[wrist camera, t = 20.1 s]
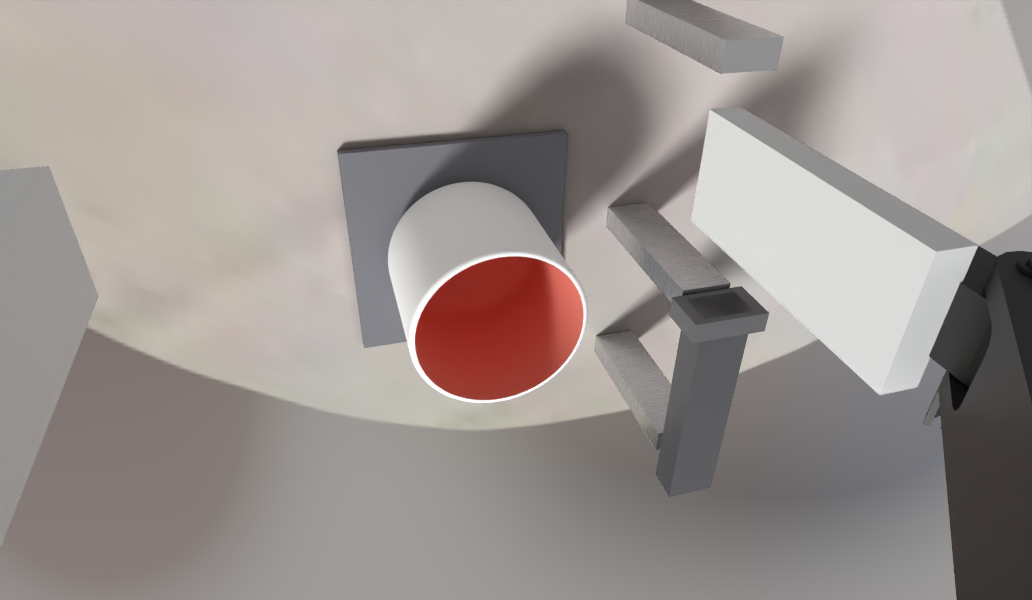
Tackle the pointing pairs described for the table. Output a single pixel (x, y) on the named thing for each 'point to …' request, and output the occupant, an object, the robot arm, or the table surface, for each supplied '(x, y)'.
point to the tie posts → (642, 229)
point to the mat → (420, 170)
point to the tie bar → (704, 383)
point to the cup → (483, 294)
